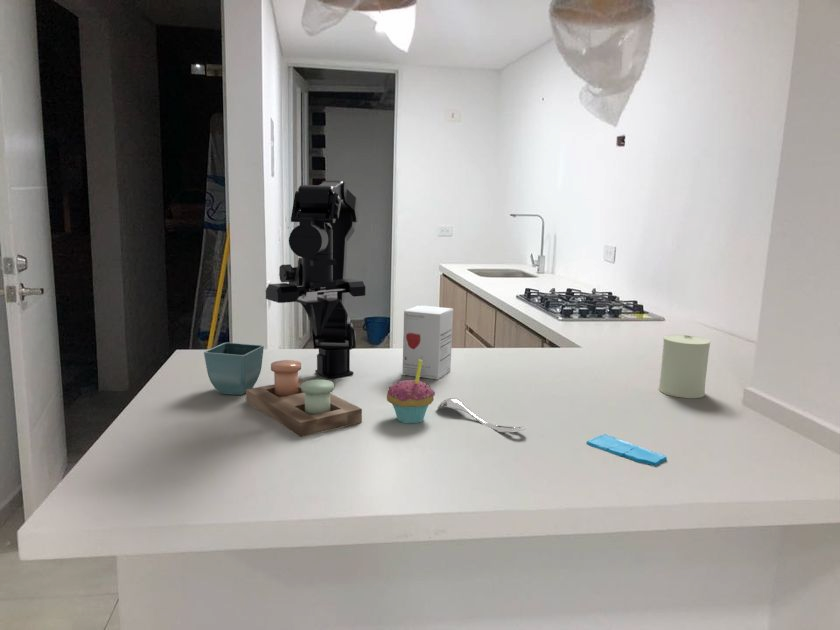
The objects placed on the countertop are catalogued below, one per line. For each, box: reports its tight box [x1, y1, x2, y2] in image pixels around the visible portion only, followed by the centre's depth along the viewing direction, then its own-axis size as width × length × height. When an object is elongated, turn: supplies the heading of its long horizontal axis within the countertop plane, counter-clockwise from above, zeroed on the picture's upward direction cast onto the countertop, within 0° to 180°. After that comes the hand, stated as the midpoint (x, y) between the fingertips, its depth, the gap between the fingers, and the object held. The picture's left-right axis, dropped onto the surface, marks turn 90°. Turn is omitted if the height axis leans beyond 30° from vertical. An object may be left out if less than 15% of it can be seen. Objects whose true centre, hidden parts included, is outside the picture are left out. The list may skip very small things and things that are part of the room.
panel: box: [245, 379, 363, 438], centre depth 112 cm, size 12×22×2 cm, turn 39°
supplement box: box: [402, 304, 454, 380], centre depth 139 cm, size 9×9×15 cm
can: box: [657, 334, 711, 399], centre depth 130 cm, size 9×9×12 cm
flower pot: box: [203, 342, 265, 396], centre depth 123 cm, size 9×9×9 cm
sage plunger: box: [301, 379, 335, 415], centre depth 107 cm, size 6×6×6 cm
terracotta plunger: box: [270, 359, 302, 397], centre depth 116 cm, size 6×6×6 cm
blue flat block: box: [586, 434, 668, 467], centre depth 98 cm, size 2×12×6 cm
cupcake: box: [386, 356, 436, 424], centre depth 109 cm, size 9×8×12 cm
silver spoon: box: [436, 397, 527, 433], centre depth 110 cm, size 20×4×5 cm
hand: (317, 334), depth 117 cm, fingers closed
